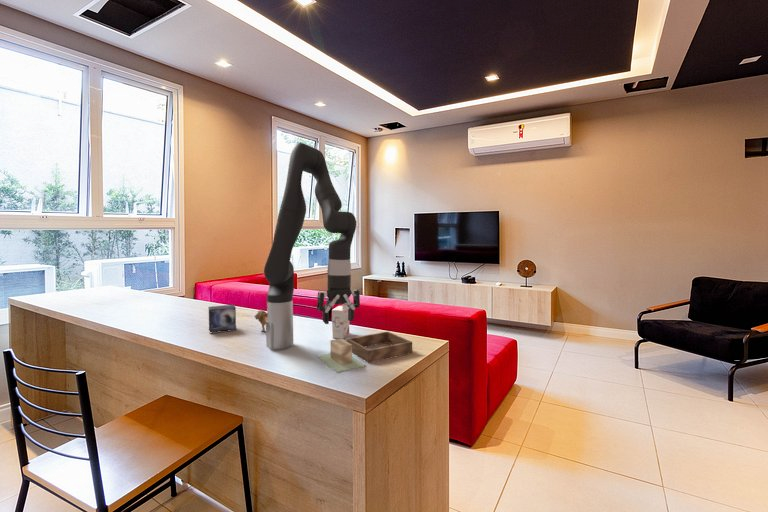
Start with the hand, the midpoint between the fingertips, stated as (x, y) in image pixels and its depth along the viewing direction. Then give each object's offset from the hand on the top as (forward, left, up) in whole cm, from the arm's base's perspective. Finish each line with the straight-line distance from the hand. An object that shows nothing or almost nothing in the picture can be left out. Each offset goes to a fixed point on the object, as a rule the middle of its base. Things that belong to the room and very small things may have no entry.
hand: (338, 322), depth 120 cm
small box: (-26, +62, -14) cm, 69 cm away
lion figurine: (-11, +49, -14) cm, 52 cm away
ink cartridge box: (+14, +27, -14) cm, 33 cm away
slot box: (+17, +2, -13) cm, 22 cm away
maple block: (+1, 0, -13) cm, 13 cm away
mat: (+1, 0, -13) cm, 13 cm away
